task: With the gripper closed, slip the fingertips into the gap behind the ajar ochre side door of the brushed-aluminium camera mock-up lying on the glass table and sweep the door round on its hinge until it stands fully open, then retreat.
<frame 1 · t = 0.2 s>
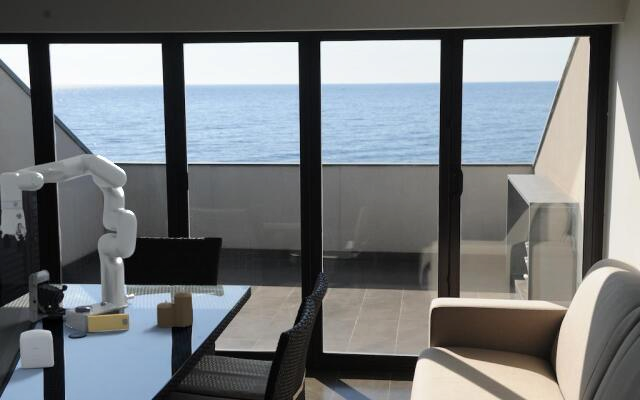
hand: (13, 249, 302), 31 cm above the table, fingers open, 9 cm apart
aluminium camera mock-up: (95, 324, 311), on the table
photo printer: (37, 367, 259), on the table
vintage camera: (53, 320, 318), on the table
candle: (177, 324, 312), on the table
ochre side door: (107, 322, 301), point 4 cm above the table, hinge at 35.0°
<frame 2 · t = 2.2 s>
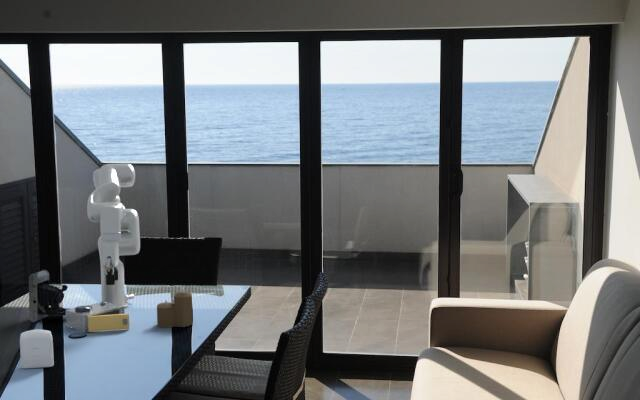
hand: (112, 282, 305), 18 cm above the table, fingers open, 7 cm apart
nothing on the table moved.
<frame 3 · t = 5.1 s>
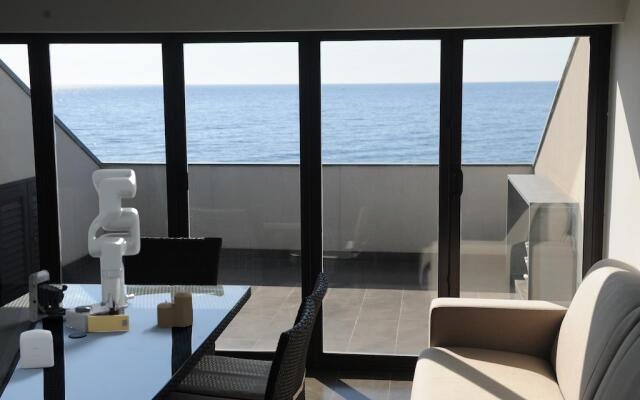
hand: (113, 320, 303), 4 cm above the table, fingers closed
ochre side door: (106, 323, 300), point 3 cm above the table, hinge at 41.2°, touching gripper
everything else where it was.
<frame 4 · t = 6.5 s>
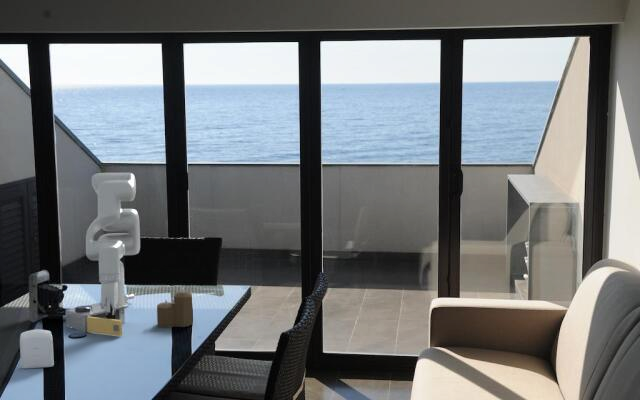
hand: (111, 324, 299), 3 cm above the table, fingers closed
ochre side door: (102, 325, 296), point 4 cm above the table, hinge at 72.0°, touching gripper
everything else where it was.
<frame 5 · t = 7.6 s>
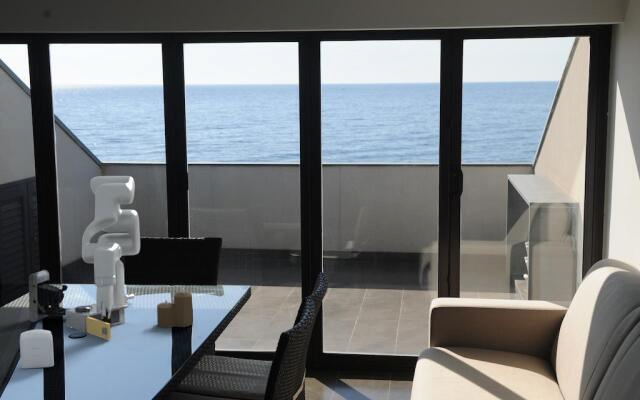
hand: (106, 328, 295), 3 cm above the table, fingers closed
ochre side door: (96, 327, 294), point 3 cm above the table, hinge at 93.4°, touching gripper
everything else where it was.
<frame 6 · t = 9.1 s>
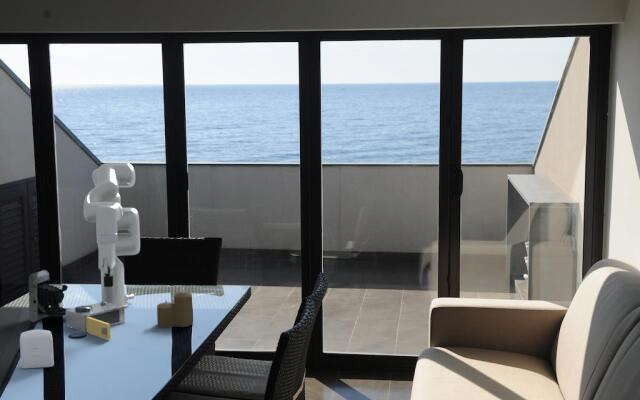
hand: (108, 286, 297), 18 cm above the table, fingers closed
ochre side door: (96, 327, 294), point 4 cm above the table, hinge at 93.9°
everything else where it was.
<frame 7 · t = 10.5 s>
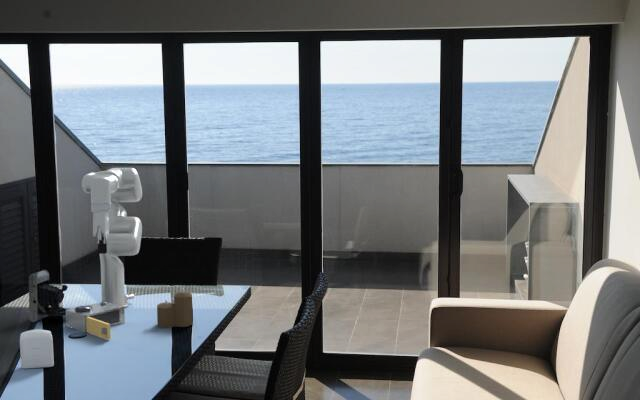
hand: (102, 253, 316), 27 cm above the table, fingers closed
nothing on the table moved.
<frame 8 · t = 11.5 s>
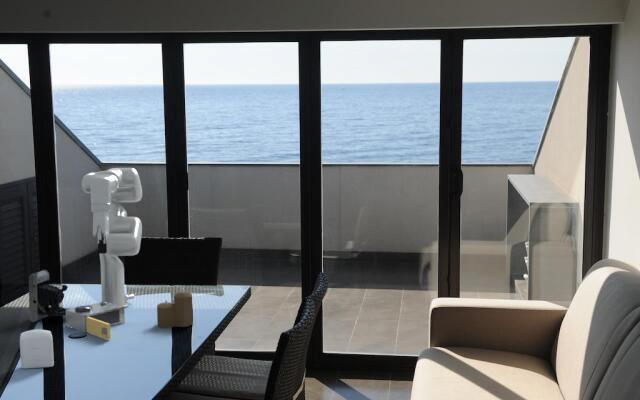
hand: (102, 252, 316), 27 cm above the table, fingers closed
nothing on the table moved.
at the end: ochre side door at +94° (first picture: +35°) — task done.
